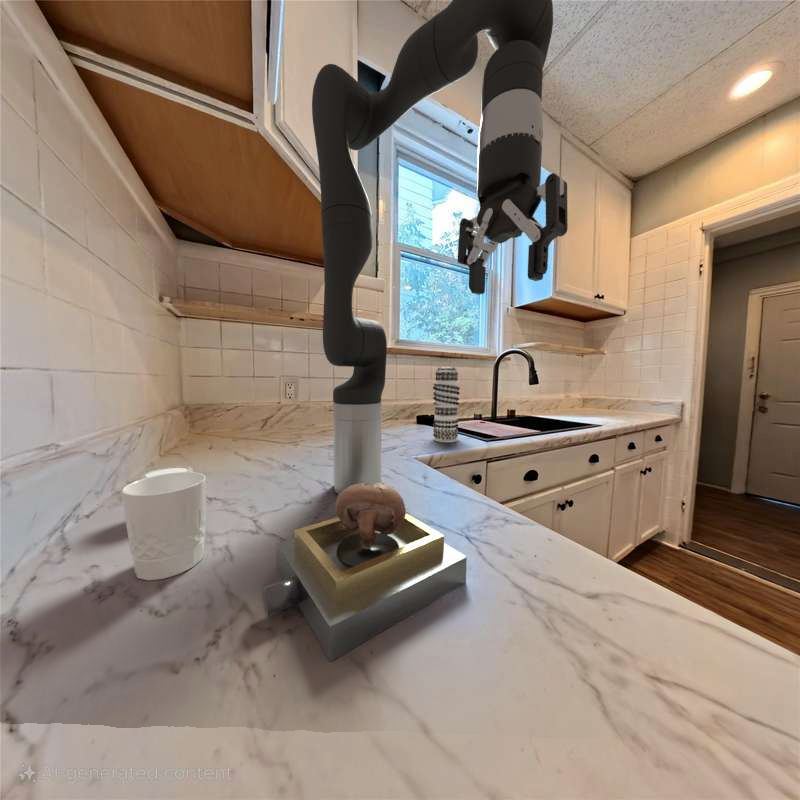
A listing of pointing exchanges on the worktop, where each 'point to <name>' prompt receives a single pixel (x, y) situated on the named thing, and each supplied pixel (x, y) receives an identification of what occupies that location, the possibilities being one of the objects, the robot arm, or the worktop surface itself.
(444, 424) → the decorative candle
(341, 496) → the mushroom
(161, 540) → the white cup
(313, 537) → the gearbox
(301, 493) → the worktop surface
